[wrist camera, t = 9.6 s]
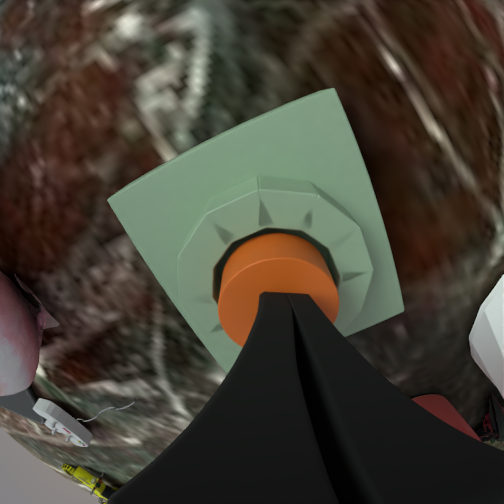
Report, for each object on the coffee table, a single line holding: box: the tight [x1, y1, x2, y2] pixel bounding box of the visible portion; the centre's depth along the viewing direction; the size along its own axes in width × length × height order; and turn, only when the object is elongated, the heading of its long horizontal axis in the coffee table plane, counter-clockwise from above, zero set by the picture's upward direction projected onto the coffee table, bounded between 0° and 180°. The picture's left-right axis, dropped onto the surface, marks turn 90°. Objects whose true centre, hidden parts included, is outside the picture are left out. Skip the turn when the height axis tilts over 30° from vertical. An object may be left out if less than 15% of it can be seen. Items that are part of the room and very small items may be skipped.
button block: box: [108, 88, 404, 374], centre depth 12 cm, size 10×9×4 cm
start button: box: [218, 233, 339, 347], centre depth 10 cm, size 4×4×2 cm
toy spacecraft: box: [474, 392, 504, 443], centre depth 21 cm, size 4×15×10 cm
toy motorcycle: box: [61, 464, 118, 504], centre depth 26 cm, size 12×4×7 cm
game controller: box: [33, 397, 136, 447], centre depth 19 cm, size 6×12×3 cm, turn 136°
